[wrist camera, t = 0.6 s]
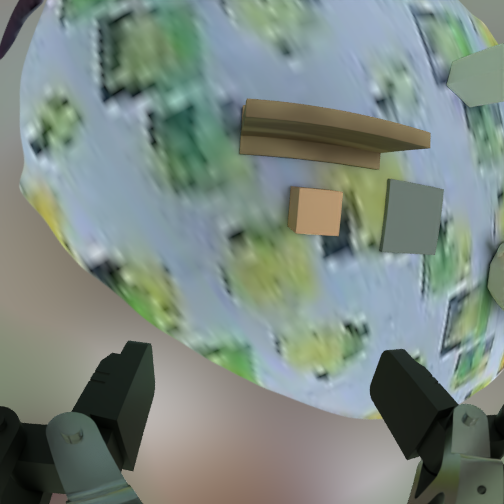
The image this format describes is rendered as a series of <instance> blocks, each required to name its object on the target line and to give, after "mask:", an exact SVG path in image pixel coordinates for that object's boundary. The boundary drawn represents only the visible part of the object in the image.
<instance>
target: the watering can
mask: <svg viewBox="0 0 504 504" xmlns="http://www.w3.org/2000/svg"><path fill="white" fill-rule="evenodd" d="M488 289H489V291H490V293H491V295H492V296H493V298H494V299H495V301H496V302H497V303H498V305H499V306H500V307H501V308H502V309H503V311H504V243H502V244H501V245H500V246H499V248H498V251H497V253H496V254H495V256H494V258H493V260H492V262H491V263H490V271H489V279H488Z"/></svg>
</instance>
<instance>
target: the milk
mask: <svg viewBox="0 0 504 504" xmlns="http://www.w3.org/2000/svg"><path fill="white" fill-rule="evenodd" d="M447 86H448V87H449V88H450V89H451V90H452V91H453V92H454V93H455V94H456V95H457V96H458V97H459V98H460V99H461V100H462V101H463V102H464V103H465V104H466V105H467V106H468V107H474V106H480V105H486V104H491V103H498V102H504V43H502V44H499V45H496V46H493V47H490V48H487V49H485V50H482V51H479V52H476V53H474V54H471V55H468V56H466V57H463V58H461V59H458V60H456V61H453V62H452V66H451V70H450V74H449V78H448V82H447Z"/></svg>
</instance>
